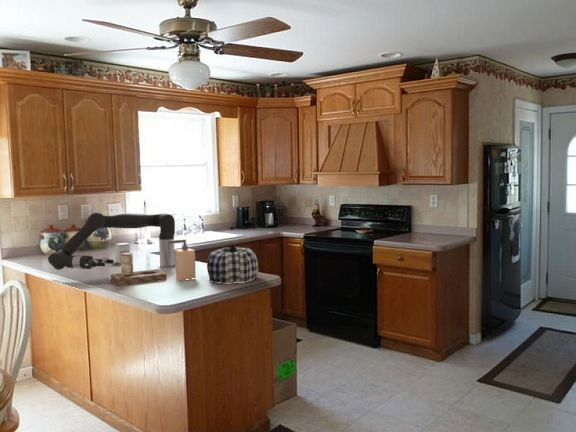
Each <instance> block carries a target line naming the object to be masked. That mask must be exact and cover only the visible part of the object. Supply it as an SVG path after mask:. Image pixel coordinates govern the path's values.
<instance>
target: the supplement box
mask: <svg viewBox="0 0 576 432" xmlns="http://www.w3.org/2000/svg"><path fill="white" fill-rule="evenodd" d="M130 246H131V244H130V243H128V242H120V243H119V242H118V243H115V262H116V263H117V264H121V254H123V253H131V247H130Z"/></svg>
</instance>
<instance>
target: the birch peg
mask: <svg viewBox="0 0 576 432" xmlns="http://www.w3.org/2000/svg"><path fill="white" fill-rule="evenodd" d="M133 260H134V259H133V253H132V252H130V253H123V254H121V263H120V265H121V267H120V268H121V273H122V274H125V276H130V274H132V273H133V272H134V261H133Z"/></svg>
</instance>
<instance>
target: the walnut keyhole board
mask: <svg viewBox="0 0 576 432" xmlns="http://www.w3.org/2000/svg"><path fill="white" fill-rule="evenodd" d="M110 280H111V282H112V283H114V284H115V285H117V286H118V287H121V286H122V287H123V286H128V285H130V286H131V285H136V284H137V285H138V284H146V283H153V282H152V281H154V282H159V281H158V280H162V281H167V273H166V272H164V271H162V270H160V269H157V268H156V269H147V270H138V271H133V273H132V274H130V276H125V274H122V272H120V273H112V274H110ZM145 282H146V283H145Z"/></svg>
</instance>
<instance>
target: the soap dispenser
mask: <svg viewBox="0 0 576 432" xmlns="http://www.w3.org/2000/svg"><path fill="white" fill-rule="evenodd" d="M169 243H170V244H172V243H174V244H181V243H183V244H182V245H181V248H179V249H174V250H175V260H176V265H175V278H176V280H178V279H179V280H178V281H180V280H185V281H187V280H186V279H192V278H197V276H196V275H197V274H196V250H195V249H192V248H189V246H188V245H187V239H174V240H172V241H169Z"/></svg>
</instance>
